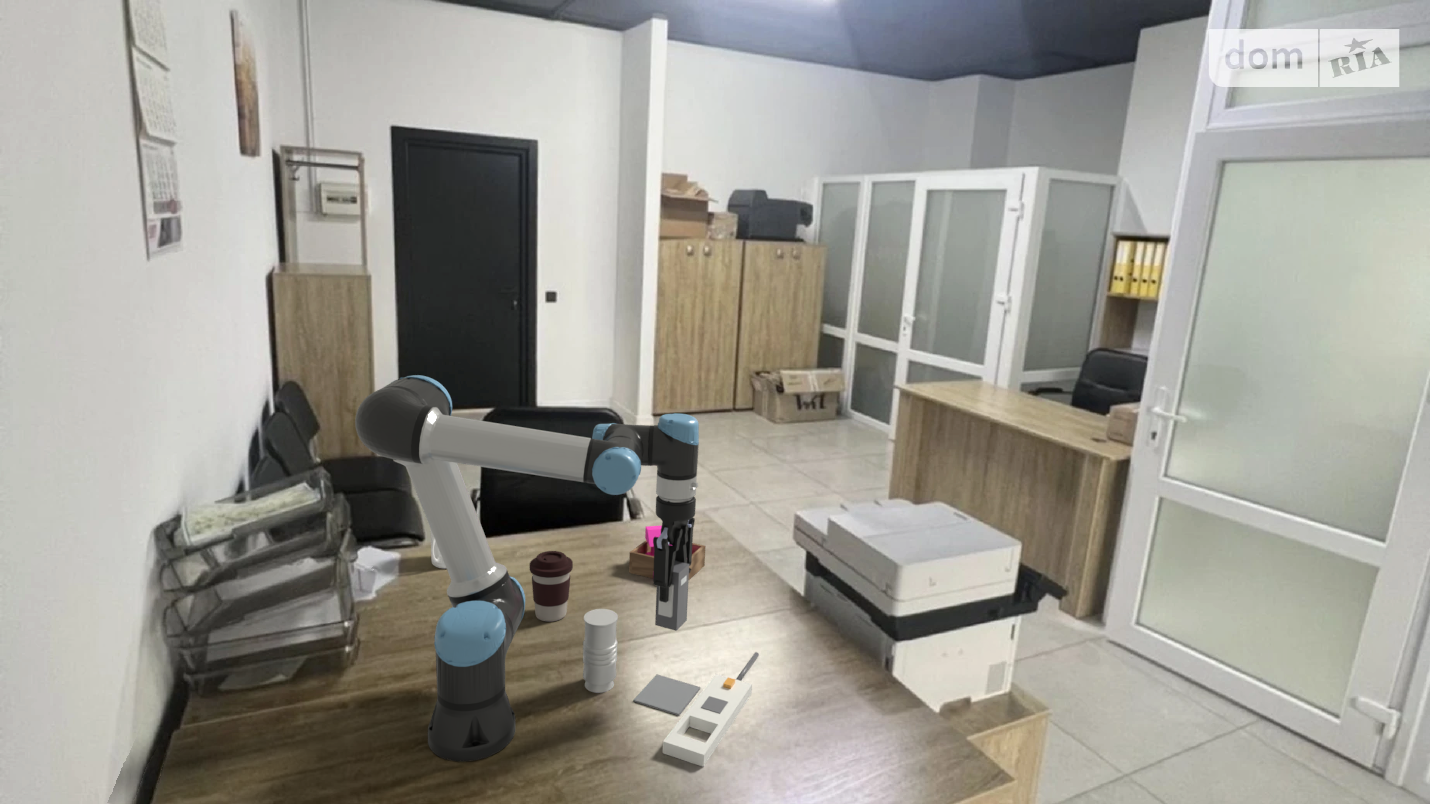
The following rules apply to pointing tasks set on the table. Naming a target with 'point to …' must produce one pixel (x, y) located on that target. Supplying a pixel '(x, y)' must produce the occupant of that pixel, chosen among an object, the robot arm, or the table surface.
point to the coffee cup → (551, 584)
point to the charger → (676, 598)
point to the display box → (645, 563)
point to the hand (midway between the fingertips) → (671, 608)
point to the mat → (667, 694)
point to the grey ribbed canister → (600, 650)
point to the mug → (436, 554)
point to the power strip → (709, 717)
